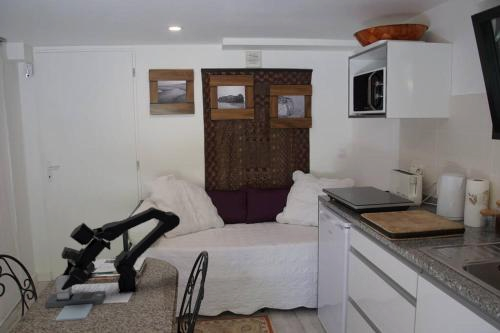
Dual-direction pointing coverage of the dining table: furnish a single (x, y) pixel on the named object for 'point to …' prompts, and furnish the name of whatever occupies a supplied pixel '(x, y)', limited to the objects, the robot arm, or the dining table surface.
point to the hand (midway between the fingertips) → (61, 284)
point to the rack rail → (77, 299)
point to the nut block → (63, 294)
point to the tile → (74, 312)
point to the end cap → (90, 268)
